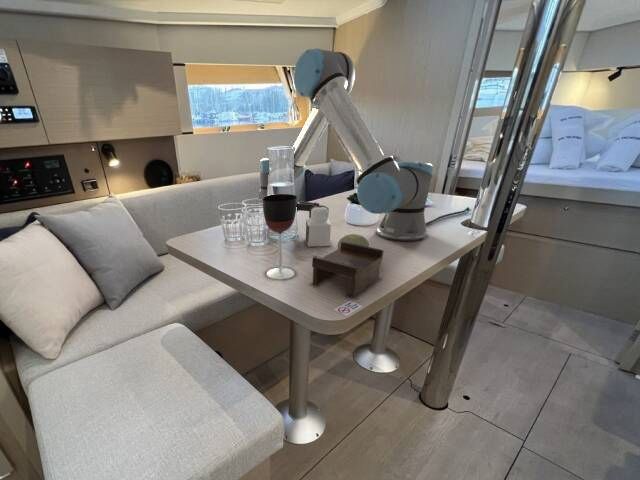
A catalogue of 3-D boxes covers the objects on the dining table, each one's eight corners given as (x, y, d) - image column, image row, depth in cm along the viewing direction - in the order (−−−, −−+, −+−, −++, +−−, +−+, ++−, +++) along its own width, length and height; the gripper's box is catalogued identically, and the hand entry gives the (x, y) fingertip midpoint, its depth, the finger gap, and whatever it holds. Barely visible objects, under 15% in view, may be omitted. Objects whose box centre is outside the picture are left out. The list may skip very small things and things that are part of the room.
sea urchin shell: (349, 253, 91) (341, 228, 93) (338, 264, 98) (331, 241, 100) (377, 248, 93) (368, 224, 95) (364, 259, 100) (356, 237, 102)
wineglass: (258, 274, 86) (255, 199, 76) (280, 264, 91) (279, 192, 81) (280, 282, 81) (279, 203, 71) (302, 272, 86) (303, 196, 76)
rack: (340, 267, 87) (342, 241, 84) (379, 277, 80) (383, 250, 77) (311, 285, 79) (312, 257, 75) (352, 298, 72) (355, 268, 68)
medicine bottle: (305, 239, 109) (306, 204, 103) (326, 239, 108) (328, 203, 102) (307, 247, 103) (308, 209, 97) (329, 246, 102) (332, 208, 96)
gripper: (306, 208, 132) (335, 220, 114) (250, 216, 124) (272, 231, 107) (307, 190, 128) (337, 199, 111) (249, 197, 121) (272, 208, 103)
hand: (305, 215), depth 109 cm, fingers open, 13 cm apart
